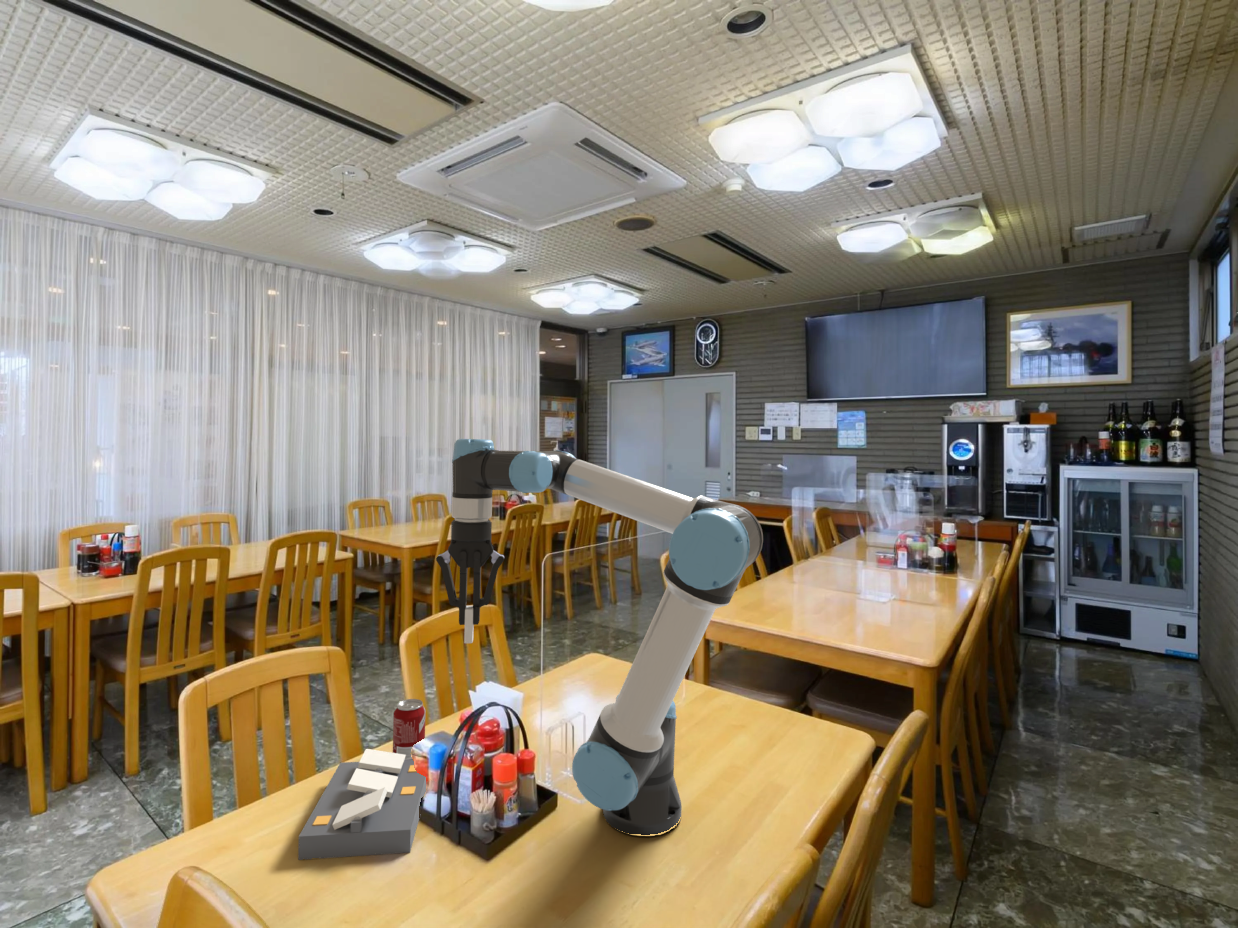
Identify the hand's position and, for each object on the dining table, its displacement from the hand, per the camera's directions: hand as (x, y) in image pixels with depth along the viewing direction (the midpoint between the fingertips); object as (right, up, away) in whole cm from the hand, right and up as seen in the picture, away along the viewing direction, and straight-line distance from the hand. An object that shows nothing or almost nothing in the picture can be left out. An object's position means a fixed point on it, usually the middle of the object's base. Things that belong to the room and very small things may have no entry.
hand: (468, 640), depth 119 cm
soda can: (-18, -31, +19) cm, 41 cm away
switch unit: (-18, -32, -2) cm, 37 cm away
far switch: (-19, -26, +5) cm, 33 cm away
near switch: (-16, -27, -11) cm, 33 cm away
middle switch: (-18, -26, -3) cm, 32 cm away
